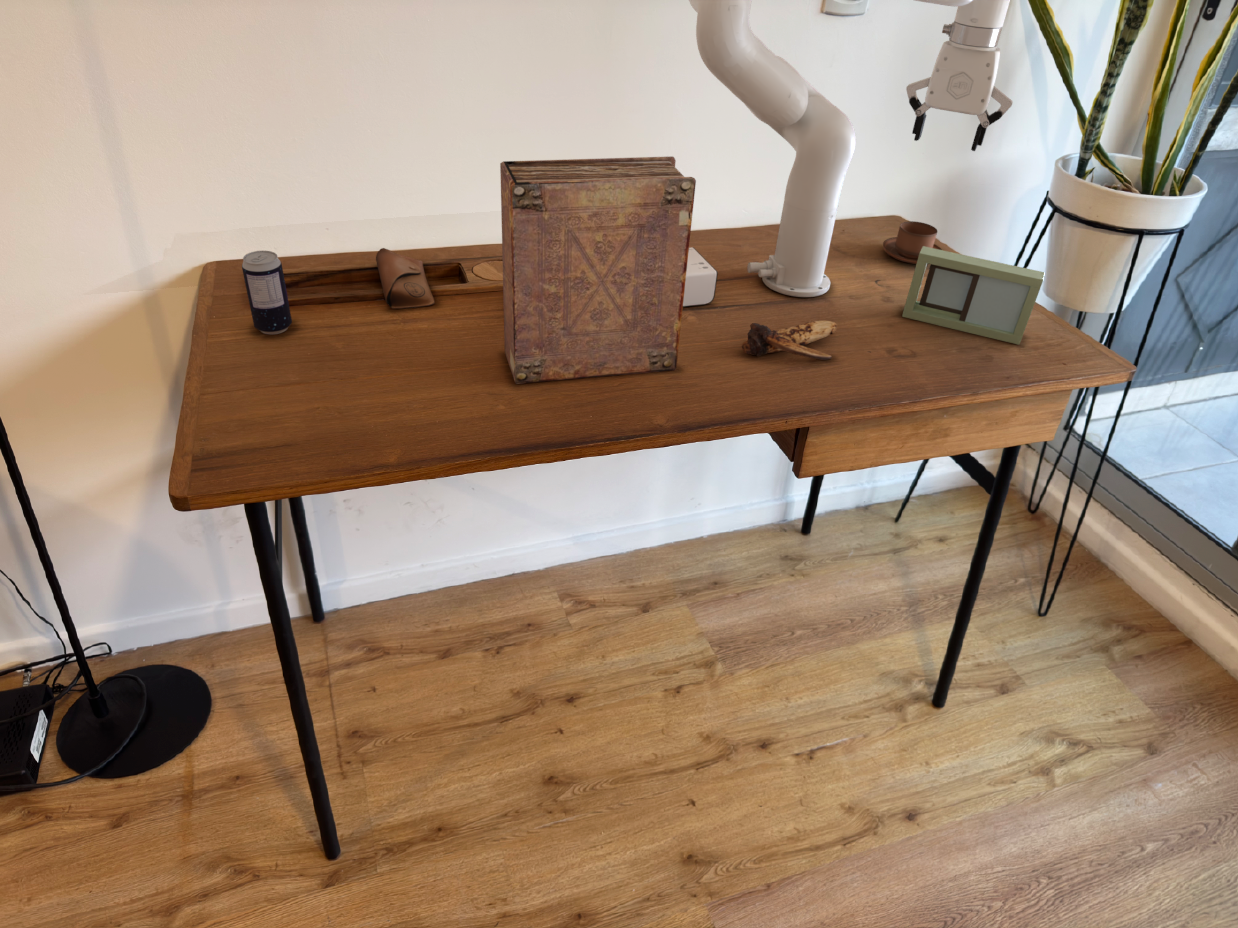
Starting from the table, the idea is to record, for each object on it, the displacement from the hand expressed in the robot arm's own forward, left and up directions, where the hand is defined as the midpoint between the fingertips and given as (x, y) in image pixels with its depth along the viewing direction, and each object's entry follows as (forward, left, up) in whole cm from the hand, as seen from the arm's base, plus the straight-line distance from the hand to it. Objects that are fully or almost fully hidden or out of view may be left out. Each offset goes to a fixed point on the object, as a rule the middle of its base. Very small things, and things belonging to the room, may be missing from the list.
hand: (945, 144), depth 153 cm
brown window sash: (+1, -12, -24) cm, 27 cm away
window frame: (+2, -17, -26) cm, 32 cm away
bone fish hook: (-32, -23, -26) cm, 47 cm away
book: (-66, -23, -26) cm, 75 cm away
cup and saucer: (+7, +12, -26) cm, 30 cm away
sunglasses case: (-93, +7, -26) cm, 97 cm away
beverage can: (-114, -7, -26) cm, 117 cm away
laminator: (-58, -1, -26) cm, 64 cm away
